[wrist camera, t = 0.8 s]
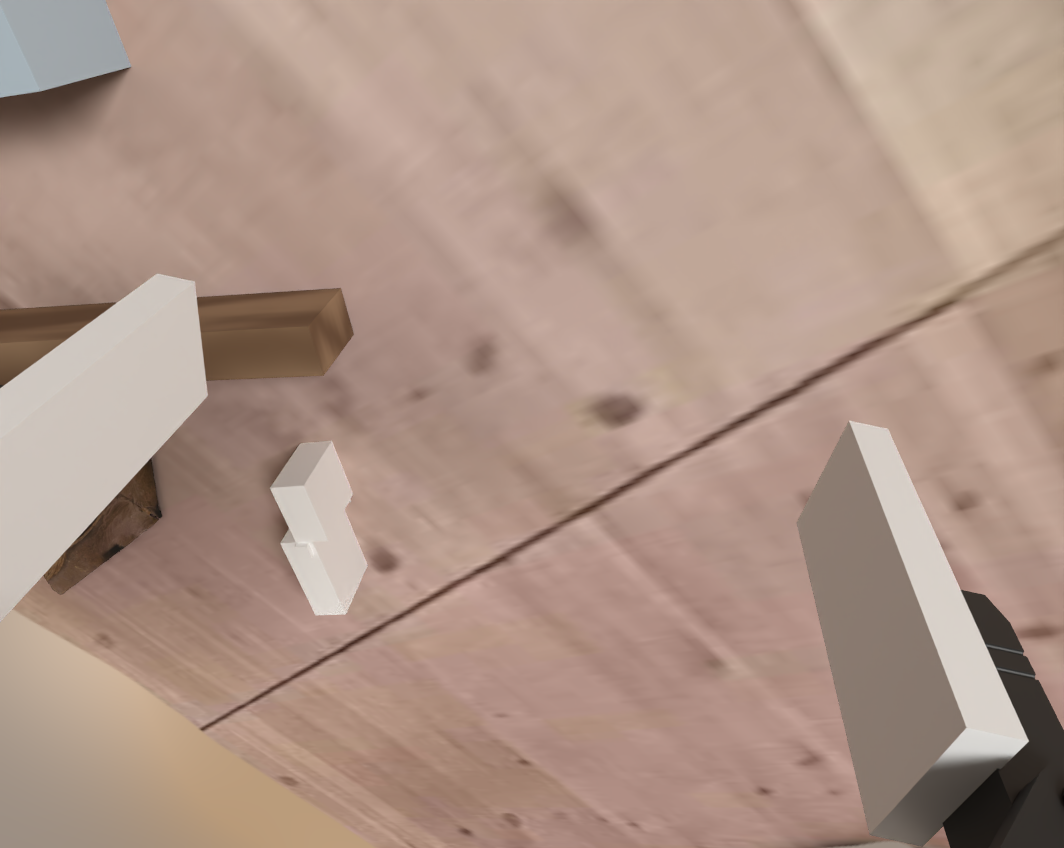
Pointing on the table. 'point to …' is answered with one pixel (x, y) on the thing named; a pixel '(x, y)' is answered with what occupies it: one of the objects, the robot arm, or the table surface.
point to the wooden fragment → (108, 531)
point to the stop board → (208, 333)
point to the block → (56, 44)
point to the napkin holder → (319, 527)
